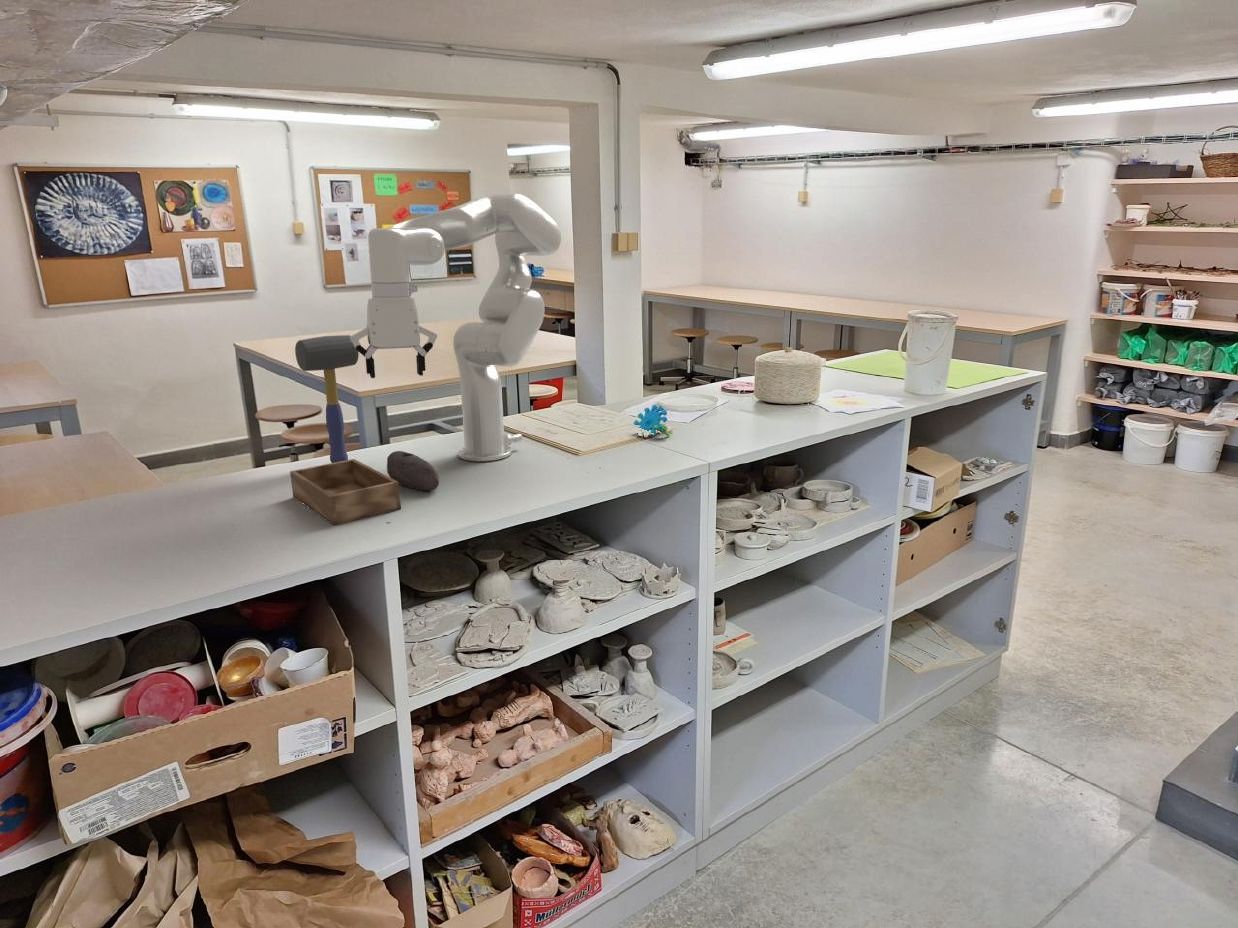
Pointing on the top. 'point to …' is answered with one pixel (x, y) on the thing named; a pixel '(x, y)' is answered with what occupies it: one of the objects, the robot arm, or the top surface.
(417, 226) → the robot arm
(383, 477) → the box
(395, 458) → the perforated stone tool
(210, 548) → the top surface
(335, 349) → the rubber mallet
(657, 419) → the blue bumpy cluster
